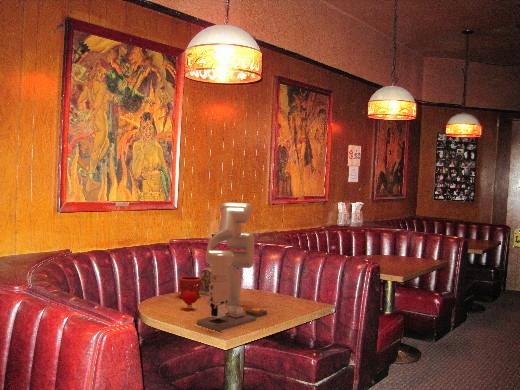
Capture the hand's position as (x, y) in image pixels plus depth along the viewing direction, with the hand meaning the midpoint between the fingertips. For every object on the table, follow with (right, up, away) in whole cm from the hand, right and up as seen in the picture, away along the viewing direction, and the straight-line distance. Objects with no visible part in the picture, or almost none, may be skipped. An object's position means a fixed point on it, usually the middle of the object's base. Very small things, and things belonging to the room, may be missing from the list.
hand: (218, 314), depth 251 cm
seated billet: (+8, -5, +10) cm, 14 cm away
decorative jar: (-9, -3, +68) cm, 69 cm away
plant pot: (-22, -3, +57) cm, 61 cm away
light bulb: (-18, -4, +30) cm, 35 cm away
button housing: (+19, -6, +21) cm, 28 cm away
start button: (+19, -5, +21) cm, 28 cm away
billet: (0, -1, 0) cm, 1 cm away
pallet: (+4, -6, +5) cm, 9 cm away
